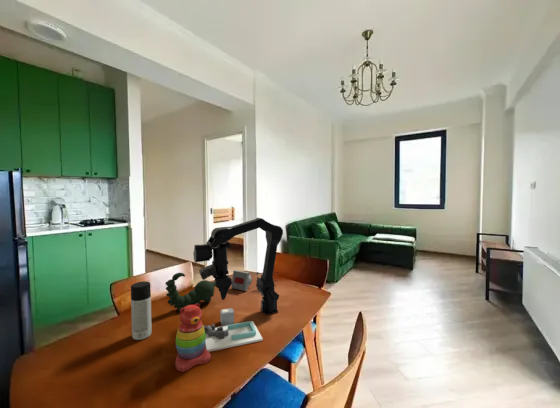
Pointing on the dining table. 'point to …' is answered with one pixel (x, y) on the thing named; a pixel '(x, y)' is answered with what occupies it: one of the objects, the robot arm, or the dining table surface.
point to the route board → (228, 337)
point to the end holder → (242, 335)
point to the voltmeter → (242, 280)
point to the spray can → (141, 310)
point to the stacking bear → (191, 339)
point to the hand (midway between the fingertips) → (221, 295)
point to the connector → (227, 316)
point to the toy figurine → (200, 293)
